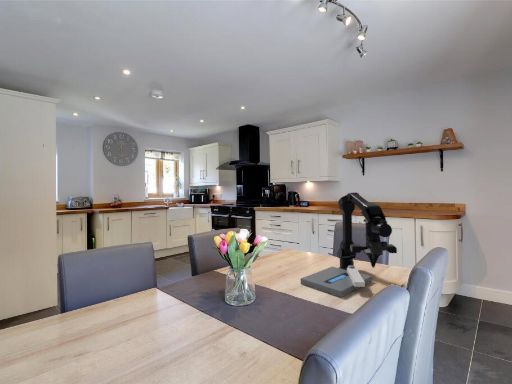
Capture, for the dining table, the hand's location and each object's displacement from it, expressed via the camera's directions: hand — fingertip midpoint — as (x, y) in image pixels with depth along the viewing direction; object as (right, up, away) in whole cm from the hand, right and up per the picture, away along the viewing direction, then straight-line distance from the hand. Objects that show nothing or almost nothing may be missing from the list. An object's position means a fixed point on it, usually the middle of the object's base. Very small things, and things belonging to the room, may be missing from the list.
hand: (373, 267), depth 123 cm
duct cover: (-7, -6, +5) cm, 10 cm away
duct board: (-15, -9, +7) cm, 19 cm away
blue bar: (-15, -9, +8) cm, 19 cm away
